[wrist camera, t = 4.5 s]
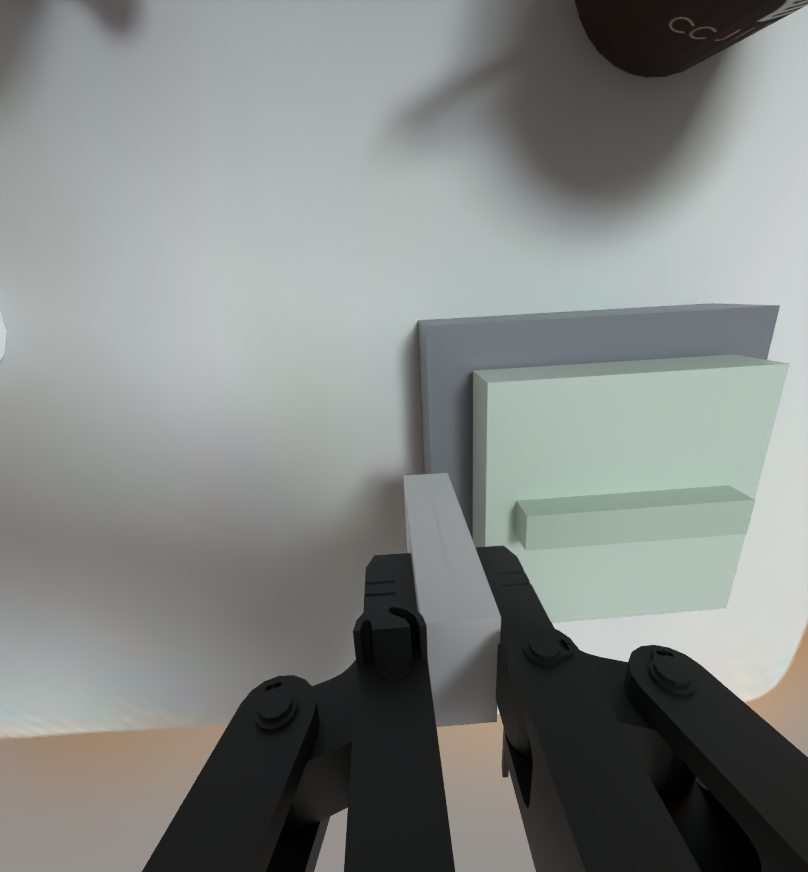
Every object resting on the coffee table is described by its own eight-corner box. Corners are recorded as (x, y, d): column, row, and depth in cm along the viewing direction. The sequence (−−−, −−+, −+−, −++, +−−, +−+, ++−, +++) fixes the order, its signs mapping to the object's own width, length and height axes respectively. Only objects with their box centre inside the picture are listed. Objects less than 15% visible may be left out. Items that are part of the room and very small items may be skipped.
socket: (418, 320, 16) (425, 326, 13) (712, 303, 17) (779, 305, 14) (428, 572, 20) (436, 617, 17) (665, 553, 21) (710, 595, 18)
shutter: (473, 370, 14) (496, 390, 11) (734, 354, 14) (823, 369, 11) (472, 590, 17) (491, 651, 14) (687, 573, 17) (749, 629, 14)
